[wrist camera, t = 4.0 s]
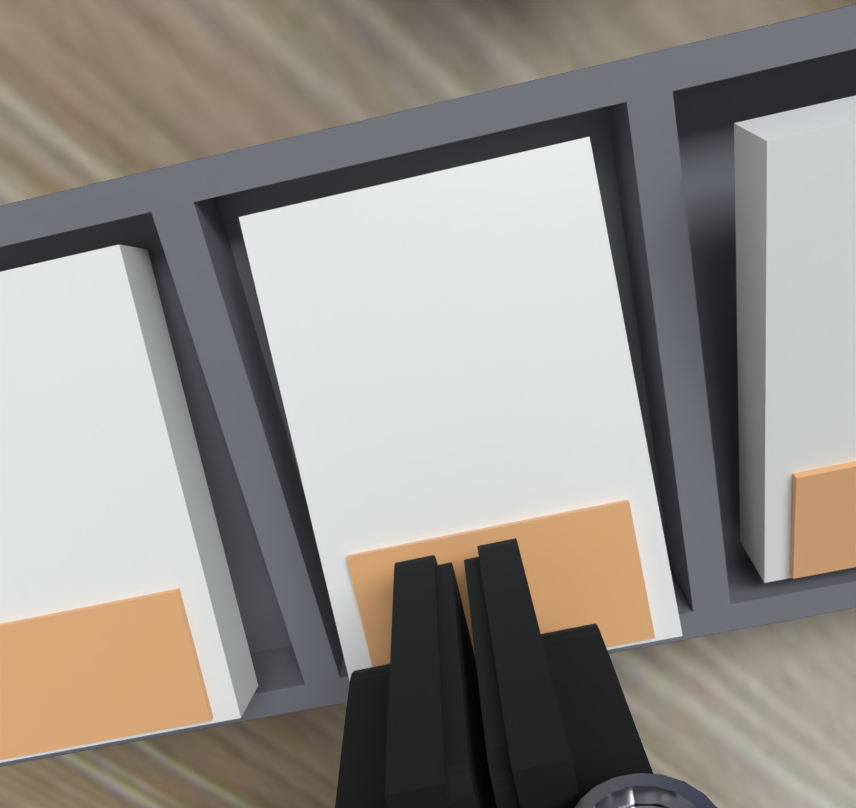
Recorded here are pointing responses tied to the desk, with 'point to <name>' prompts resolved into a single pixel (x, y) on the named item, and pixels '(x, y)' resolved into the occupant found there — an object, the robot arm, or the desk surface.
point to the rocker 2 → (797, 338)
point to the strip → (636, 280)
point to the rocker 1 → (105, 519)
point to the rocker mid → (466, 392)
